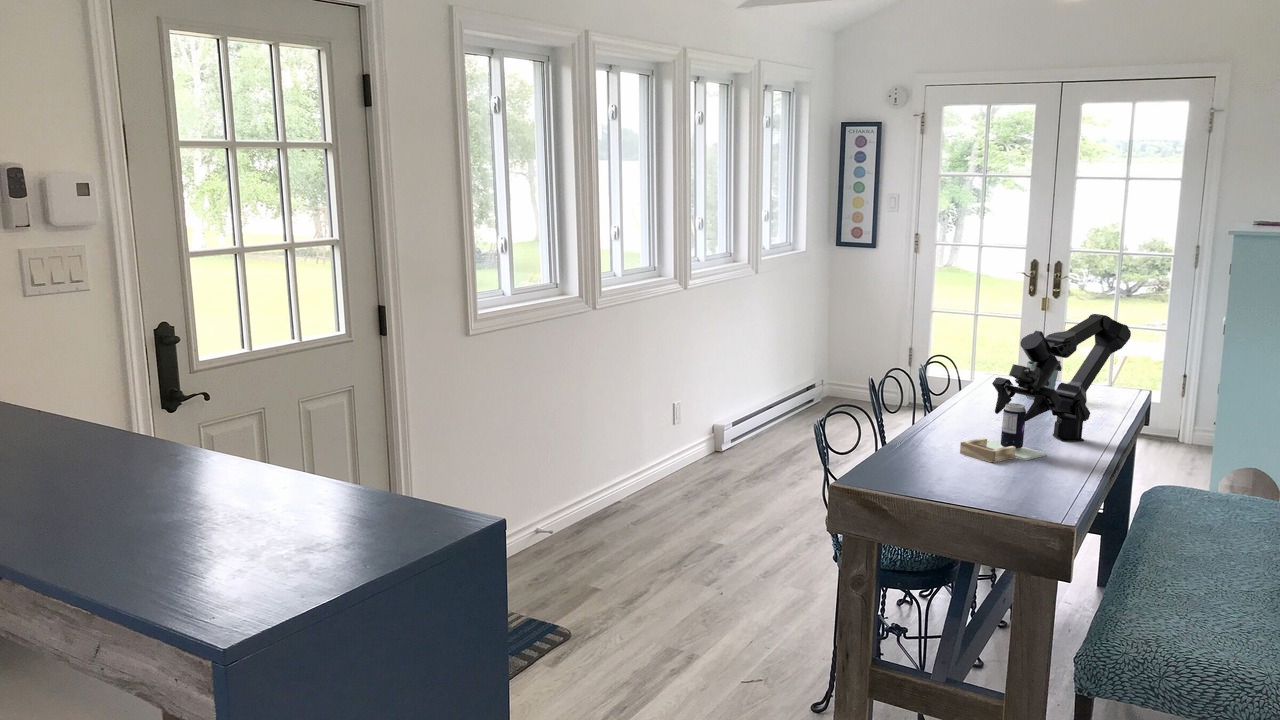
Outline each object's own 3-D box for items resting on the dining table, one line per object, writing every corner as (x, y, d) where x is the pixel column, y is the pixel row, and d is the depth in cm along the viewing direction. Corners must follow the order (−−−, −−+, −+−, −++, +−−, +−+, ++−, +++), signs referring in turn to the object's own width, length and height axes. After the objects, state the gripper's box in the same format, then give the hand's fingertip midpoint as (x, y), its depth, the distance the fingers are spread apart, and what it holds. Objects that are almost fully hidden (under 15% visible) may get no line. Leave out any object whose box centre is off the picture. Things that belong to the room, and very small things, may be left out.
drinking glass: (1032, 393, 337) (1035, 359, 335) (1061, 398, 330) (1064, 363, 328) (1018, 397, 330) (1021, 363, 328) (1047, 403, 323) (1051, 367, 321)
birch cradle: (982, 448, 268) (983, 437, 268) (1014, 457, 260) (1015, 446, 259) (959, 452, 264) (960, 442, 263) (991, 462, 255) (992, 451, 254)
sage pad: (997, 441, 276) (997, 439, 276) (1046, 455, 262) (1046, 453, 262) (975, 445, 271) (975, 443, 271) (1024, 460, 258) (1025, 458, 258)
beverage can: (1024, 451, 263) (1028, 408, 261) (1002, 450, 265) (1005, 407, 262) (1020, 446, 269) (1024, 403, 267) (998, 444, 270) (1002, 402, 268)
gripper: (999, 348, 271) (969, 391, 268) (1058, 359, 256) (1027, 405, 252) (1015, 373, 277) (986, 416, 273) (1074, 386, 261) (1044, 431, 258)
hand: (1010, 416), depth 264 cm, fingers open, 9 cm apart
